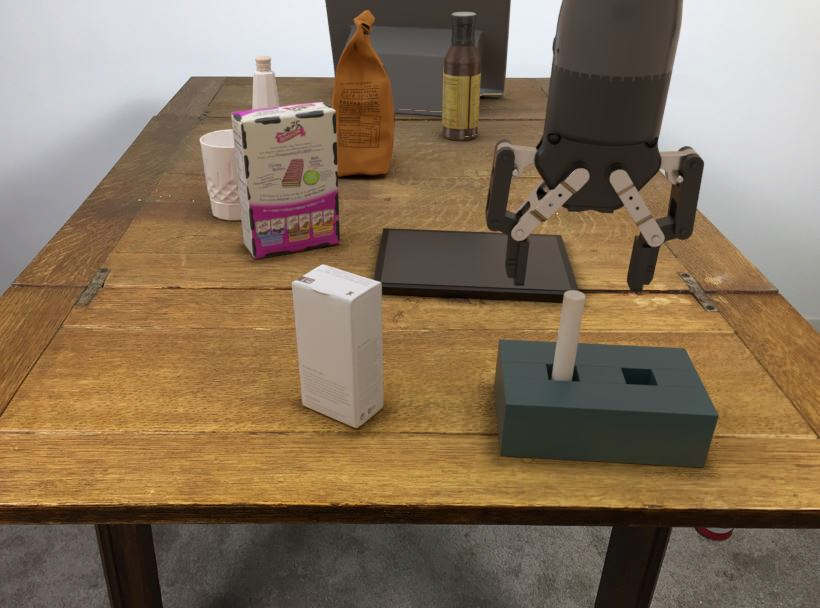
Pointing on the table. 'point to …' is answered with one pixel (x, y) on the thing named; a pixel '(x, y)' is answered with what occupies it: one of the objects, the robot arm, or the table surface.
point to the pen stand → (603, 405)
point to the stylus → (568, 335)
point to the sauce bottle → (461, 80)
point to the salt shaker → (264, 85)
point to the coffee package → (363, 106)
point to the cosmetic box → (339, 343)
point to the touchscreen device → (423, 44)
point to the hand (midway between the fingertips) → (575, 284)
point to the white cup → (221, 174)
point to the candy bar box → (287, 177)
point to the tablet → (470, 266)
